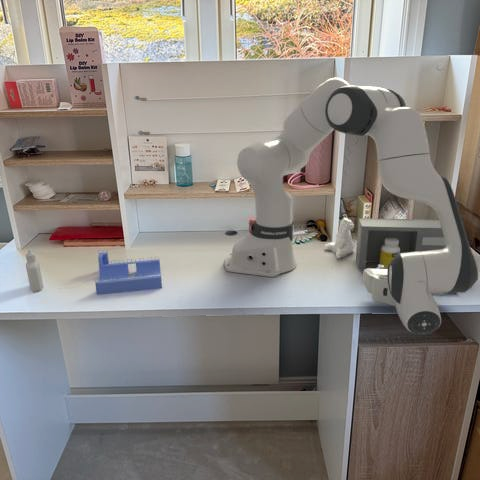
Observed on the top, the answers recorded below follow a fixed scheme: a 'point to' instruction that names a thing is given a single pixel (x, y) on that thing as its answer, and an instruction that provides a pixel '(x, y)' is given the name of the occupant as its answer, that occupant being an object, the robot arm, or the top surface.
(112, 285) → the blue plastic stand
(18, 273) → the top surface
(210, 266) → the top surface
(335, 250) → the seated beast figurine
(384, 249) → the supplement bottle
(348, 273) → the top surface
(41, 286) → the eye dropper bottle
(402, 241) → the printer housing
